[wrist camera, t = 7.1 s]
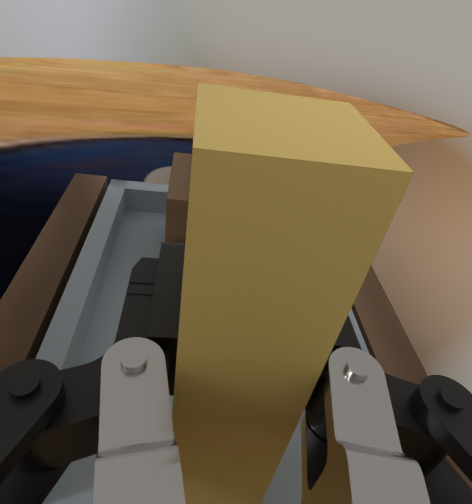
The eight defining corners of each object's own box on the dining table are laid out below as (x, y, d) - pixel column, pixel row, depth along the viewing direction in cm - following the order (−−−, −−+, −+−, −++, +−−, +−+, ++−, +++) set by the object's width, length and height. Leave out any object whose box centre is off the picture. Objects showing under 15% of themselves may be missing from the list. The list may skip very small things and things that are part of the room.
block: (163, 281, 20) (166, 198, 17) (170, 227, 24) (174, 152, 21) (257, 287, 21) (275, 208, 18) (249, 233, 25) (263, 162, 22)
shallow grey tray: (3, 525, 12) (-267, 96, 4) (113, 215, 26) (99, -18, 18) (389, 520, 14) (717, 206, 6) (297, 232, 28) (358, 24, 20)
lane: (-226, 807, 8) (-308, 819, 7) (79, 204, 27) (75, 173, 25) (543, 733, 10) (609, 729, 9) (327, 226, 29) (337, 199, 28)
